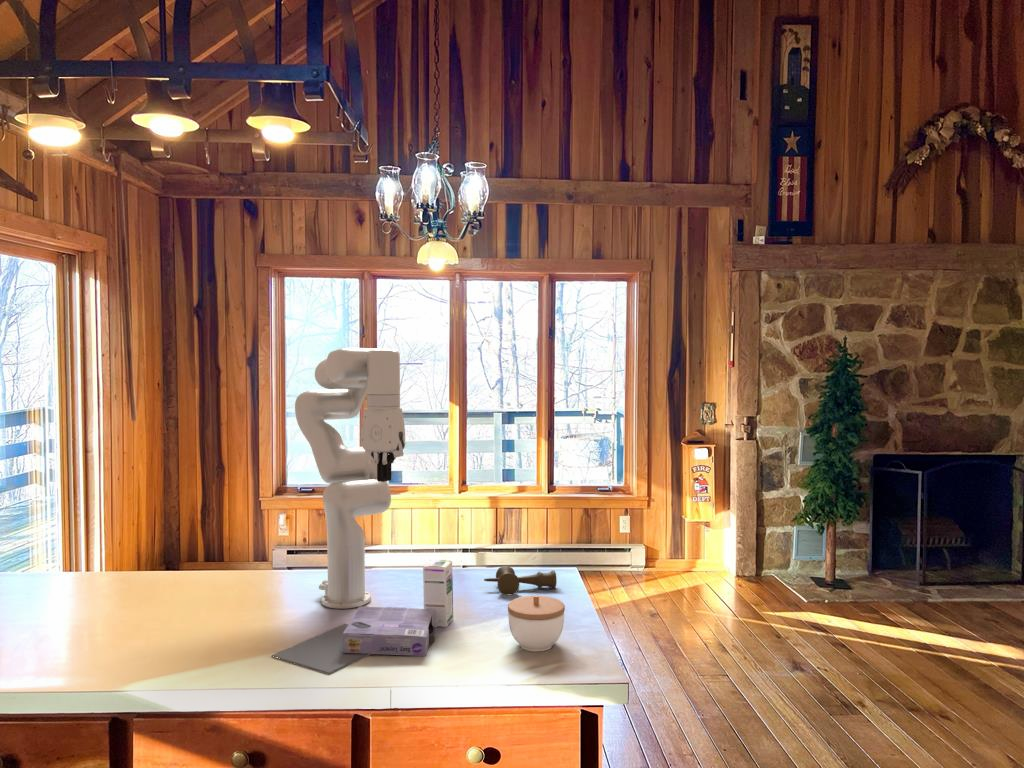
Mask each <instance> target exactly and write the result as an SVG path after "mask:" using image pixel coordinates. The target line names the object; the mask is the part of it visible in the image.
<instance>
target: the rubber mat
mask: <svg viewBox="0 0 1024 768" xmlns="http://www.w3.org/2000/svg"><path fill="white" fill-rule="evenodd" d="M348 624H349V623H343V624H341V625H338V626H336V627H334V628H332V629H329V630H326V631H324V632H322V633H320V634H317V635H315V636H313V637H311V638H308V639H306V640H303V641H302V642H298V643H296V644H294V645H291V646H290V647H287V648H285V649H282V650H280V651H277V652H276V653H273V654H271V657H272V656H274V657H278V658H280V659H283V660H285V661H284V662H287V661H288V662H287V663H290V662H291V663H290V664H293V663H295V664H294V665H296V664H298V665H297V666H300V667H303V666H304V668H306V667H307V668H306V669H309V670H312V671H313V670H314V671H316V672H319V673H323V674H326V675H332V674H333V673H336V672H338V671H339V670H341V669H343V668H346V667H347V666H349V665H351V664H353V663H355V662H357V661H359V660H362V659H363V658H366V657H367V656H370V655H371V654H362V653H342V634H343V632H344V631H345V629H346V628H347V626H348ZM280 659H279V660H280ZM283 660H282V661H283Z"/></svg>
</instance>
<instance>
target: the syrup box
mask: <svg viewBox="0 0 1024 768" xmlns="http://www.w3.org/2000/svg"><path fill="white" fill-rule="evenodd" d="M422 570H423V571H422V576H423V577H422V578H423V609H434V626H442V627H441V628H447V627H448V626H449V625H450V623H451V622H452V621H453V619H454V589H453V588H454V587H453V586H454V585H453V584H454V582H453V580H454V579H453V577H454V576H453V561H452V560H446V559H445V560H444V559H433V560H432V559H430V561H429V562H428V563H426V564H425V565H424V566H423V567H422Z"/></svg>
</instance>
